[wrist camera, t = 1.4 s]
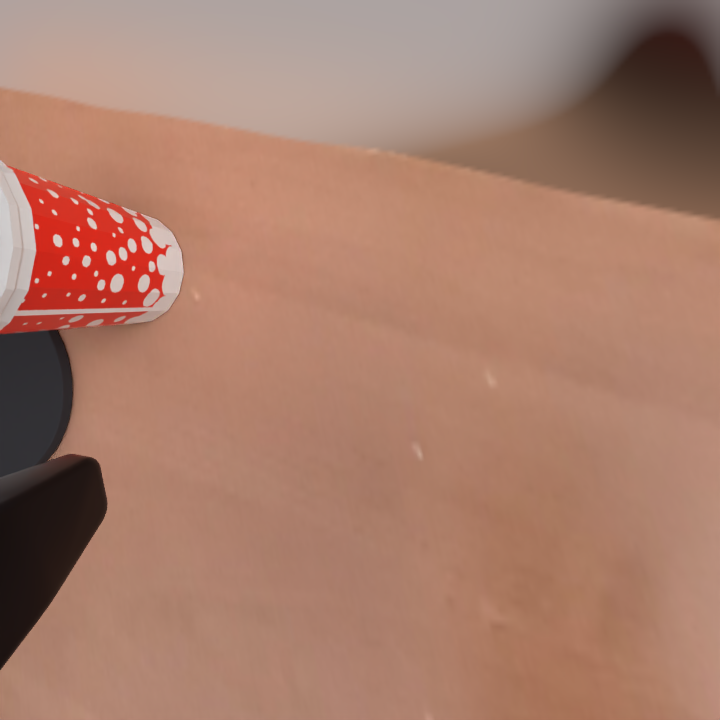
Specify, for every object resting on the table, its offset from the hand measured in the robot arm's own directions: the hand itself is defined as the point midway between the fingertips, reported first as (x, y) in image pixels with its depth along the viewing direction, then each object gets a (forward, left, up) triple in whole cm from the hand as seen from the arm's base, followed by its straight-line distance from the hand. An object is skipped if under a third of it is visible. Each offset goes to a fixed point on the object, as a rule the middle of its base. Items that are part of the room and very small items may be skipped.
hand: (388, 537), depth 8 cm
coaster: (-13, +20, -14) cm, 27 cm away
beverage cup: (-4, +16, -14) cm, 22 cm away
